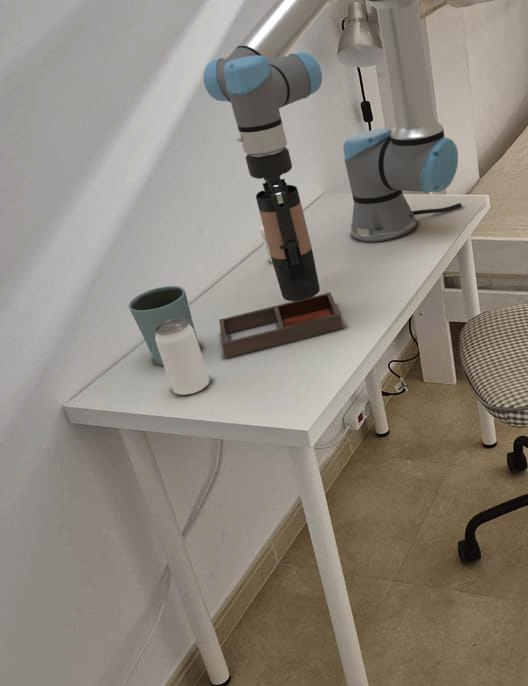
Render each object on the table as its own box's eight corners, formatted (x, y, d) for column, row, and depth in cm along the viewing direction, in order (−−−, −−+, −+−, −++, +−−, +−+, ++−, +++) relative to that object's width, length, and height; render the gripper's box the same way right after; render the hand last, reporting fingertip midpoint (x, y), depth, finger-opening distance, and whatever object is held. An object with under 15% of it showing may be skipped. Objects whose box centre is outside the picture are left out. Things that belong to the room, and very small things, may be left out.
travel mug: (313, 301, 160) (288, 198, 151) (275, 302, 162) (248, 200, 153) (327, 283, 167) (304, 183, 157) (290, 284, 169) (265, 185, 159)
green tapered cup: (213, 350, 164) (194, 292, 158) (164, 374, 158) (144, 315, 152) (186, 336, 170) (168, 281, 164) (139, 359, 165) (118, 302, 159)
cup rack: (223, 333, 170) (219, 319, 168) (333, 305, 174) (330, 292, 172) (226, 358, 160) (222, 344, 158) (343, 328, 164) (340, 314, 163)
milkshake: (273, 267, 196) (262, 225, 191) (265, 260, 200) (254, 219, 196) (292, 260, 198) (281, 219, 193) (283, 254, 202) (273, 213, 197)
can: (206, 393, 150) (186, 331, 144) (169, 398, 150) (147, 337, 144) (213, 374, 155) (194, 314, 149) (177, 379, 155) (157, 320, 149)
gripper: (240, 142, 159) (270, 256, 170) (249, 170, 142) (282, 296, 153) (280, 133, 161) (307, 248, 172) (295, 160, 143) (324, 285, 154)
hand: (295, 270), depth 162 cm, fingers closed on travel mug, 8 cm apart
